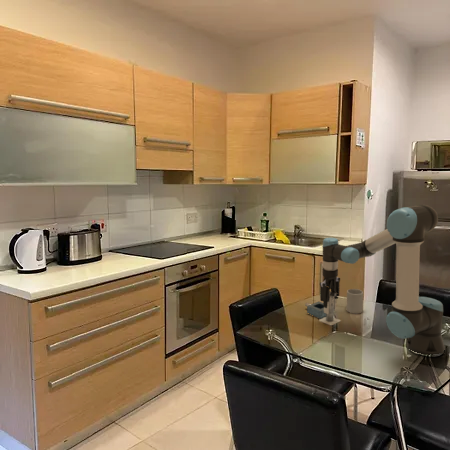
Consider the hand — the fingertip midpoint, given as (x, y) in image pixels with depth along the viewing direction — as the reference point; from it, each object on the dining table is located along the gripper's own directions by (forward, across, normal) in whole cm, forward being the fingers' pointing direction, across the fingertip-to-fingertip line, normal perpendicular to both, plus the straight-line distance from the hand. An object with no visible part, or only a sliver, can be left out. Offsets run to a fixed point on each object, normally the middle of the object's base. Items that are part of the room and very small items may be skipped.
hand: (329, 311), depth 210 cm
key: (+5, 0, 0) cm, 5 cm away
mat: (+5, 0, 0) cm, 5 cm away
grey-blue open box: (+5, -3, -11) cm, 13 cm away
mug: (+5, -21, -1) cm, 22 cm away
